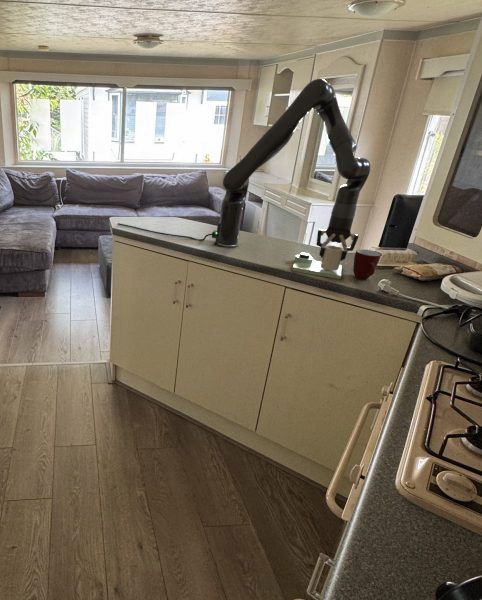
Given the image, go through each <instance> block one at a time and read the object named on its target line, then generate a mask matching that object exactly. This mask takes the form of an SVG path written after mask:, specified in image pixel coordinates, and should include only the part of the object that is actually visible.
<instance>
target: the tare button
mask: <svg viewBox="0 0 482 600" xmlns="http://www.w3.org/2000/svg"><path fill="white" fill-rule="evenodd" d="M299 255H300V258H304V259H309V257H310V256H311V254H310V253H309V252H300V253H299Z"/></svg>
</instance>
